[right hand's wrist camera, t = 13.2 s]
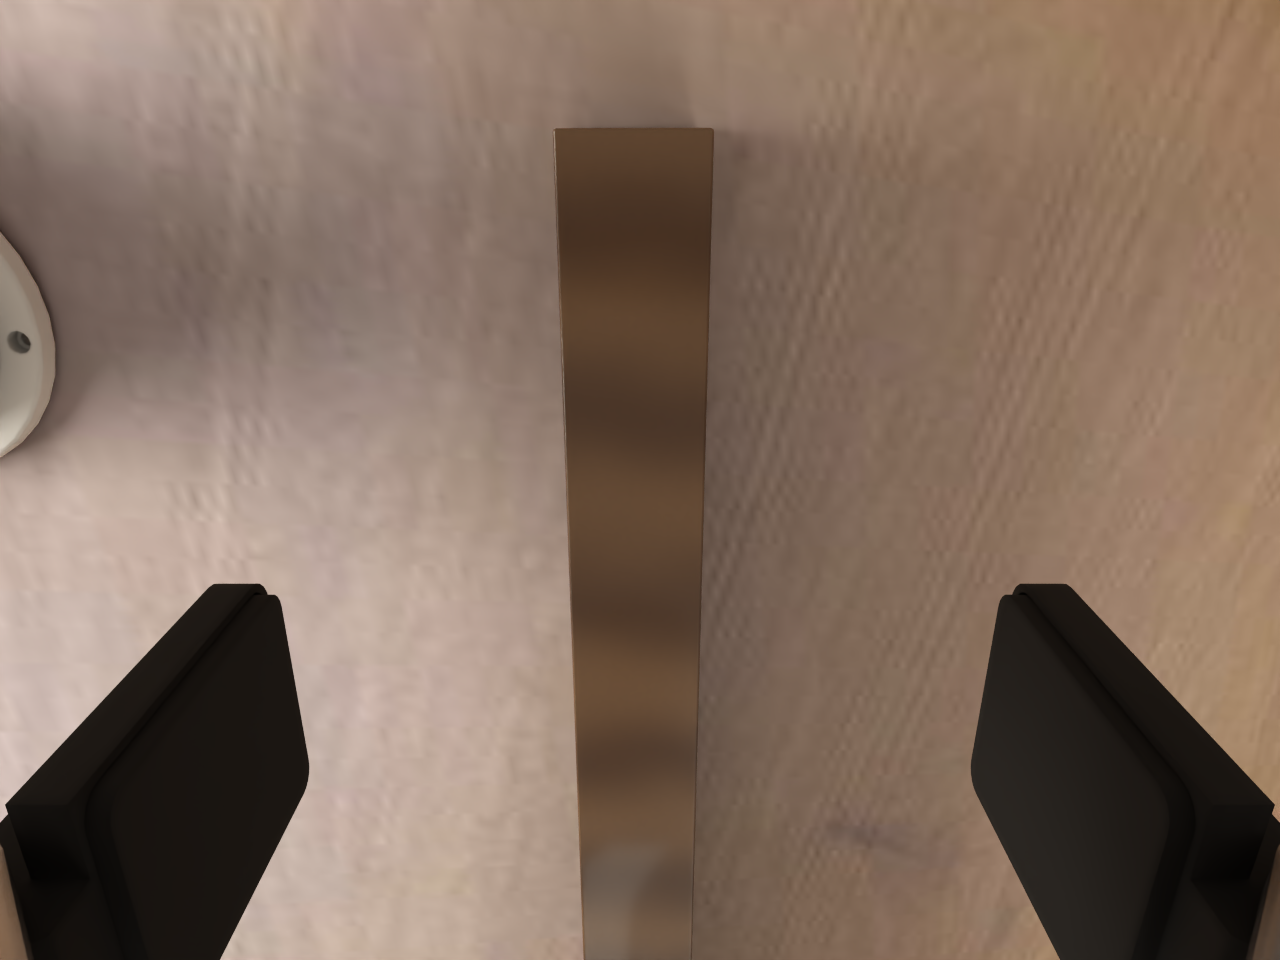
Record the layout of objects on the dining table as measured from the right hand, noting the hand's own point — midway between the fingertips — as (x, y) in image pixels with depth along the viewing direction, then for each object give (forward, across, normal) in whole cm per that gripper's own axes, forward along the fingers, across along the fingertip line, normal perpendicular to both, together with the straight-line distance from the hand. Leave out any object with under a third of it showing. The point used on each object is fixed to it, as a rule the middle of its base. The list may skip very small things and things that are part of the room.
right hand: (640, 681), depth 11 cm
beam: (+25, 0, -21) cm, 33 cm away
